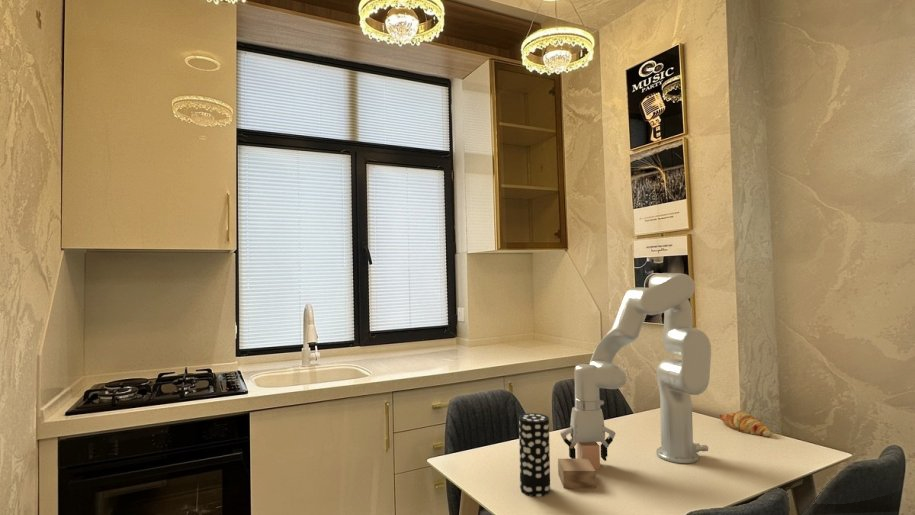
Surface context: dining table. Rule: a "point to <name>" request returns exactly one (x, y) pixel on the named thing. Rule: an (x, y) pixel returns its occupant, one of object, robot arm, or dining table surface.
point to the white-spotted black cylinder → (534, 454)
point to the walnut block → (576, 473)
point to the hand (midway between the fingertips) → (588, 459)
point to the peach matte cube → (589, 453)
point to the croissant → (745, 423)
